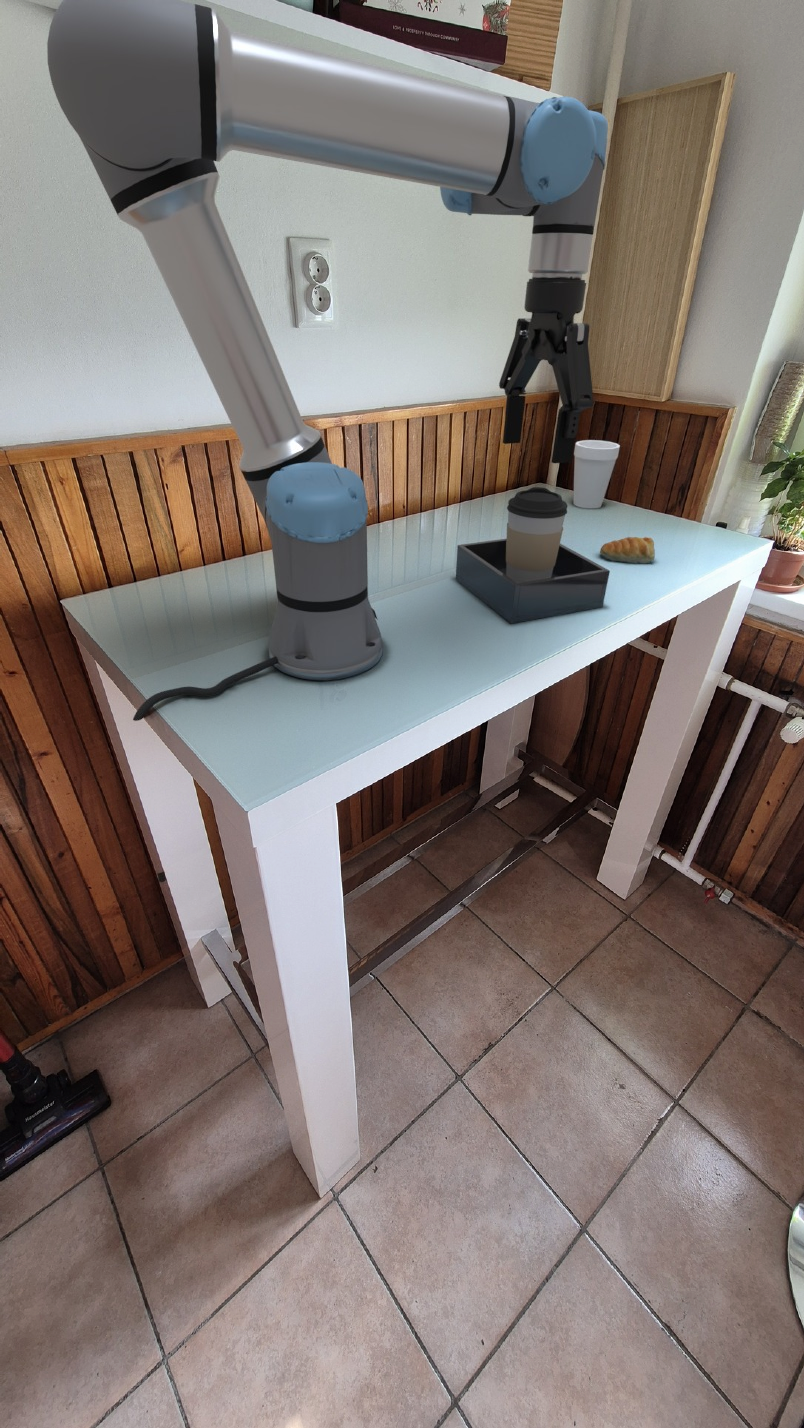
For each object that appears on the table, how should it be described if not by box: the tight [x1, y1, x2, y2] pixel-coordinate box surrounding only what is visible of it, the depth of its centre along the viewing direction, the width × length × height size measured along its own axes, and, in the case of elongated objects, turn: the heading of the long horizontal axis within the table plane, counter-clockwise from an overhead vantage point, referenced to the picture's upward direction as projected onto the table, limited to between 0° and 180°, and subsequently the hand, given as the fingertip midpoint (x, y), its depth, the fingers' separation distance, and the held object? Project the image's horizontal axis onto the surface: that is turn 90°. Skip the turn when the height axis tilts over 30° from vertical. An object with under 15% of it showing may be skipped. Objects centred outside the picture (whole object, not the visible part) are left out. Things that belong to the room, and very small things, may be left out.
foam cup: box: [572, 439, 621, 509], centre depth 145 cm, size 10×9×13 cm
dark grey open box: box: [455, 538, 611, 625], centre depth 104 cm, size 17×19×6 cm
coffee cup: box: [505, 486, 569, 583], centre depth 101 cm, size 9×9×15 cm
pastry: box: [599, 536, 656, 564], centre depth 119 cm, size 9×7×4 cm
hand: (534, 452), depth 94 cm, fingers open, 13 cm apart
